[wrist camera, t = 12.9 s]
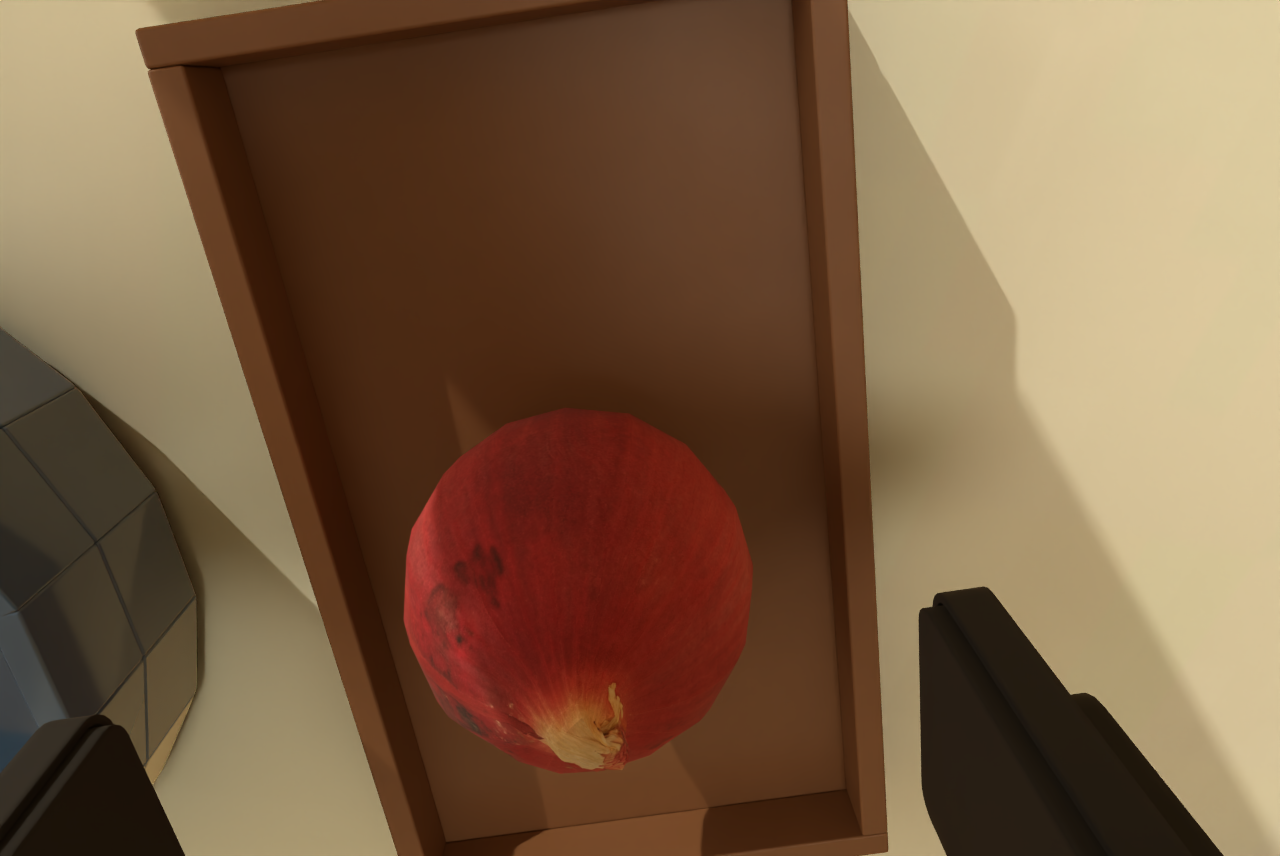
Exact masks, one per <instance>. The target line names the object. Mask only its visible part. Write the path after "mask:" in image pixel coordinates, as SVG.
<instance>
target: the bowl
mask: <svg viewBox="0 0 1280 856" xmlns="http://www.w3.org/2000/svg"><path fill="white" fill-rule="evenodd" d="M196 690H197V606H196V595H195V591H194V588H193V585H192V583H191V580H190V577H189V575H188V572H187V569H186V567H185V564H184V561H183V559H182V556H181V553H180V551H179V548H178V546H177V543H176V540H175V538H174V535H173V532H172V530H171V527H170V524H169V522H168V519H167V516H166V514H165V511H164V508H163V506H162V503H161V500H160V498H159V495H158V493H157V492H155V487H154V486H153V485H152V484H151V482H150V481H149V480H148V478H147V477H146V476H145V474H144V473H143V472H142V471H141V469H140V468H139V467H138V465H137V464H136V463H135V461H134V460H133V459H132V458H131V456H130V455H129V454H128V452H127V451H126V450H125V448H124V447H123V446H122V445H121V443H120V442H119V441H118V439H117V438H116V437H115V435H114V434H113V433H112V432H111V430H110V429H109V428H108V426H107V425H106V424H105V422H104V421H103V420H102V419H101V417H100V416H99V415H98V413H97V412H96V411H95V410H94V408H93V407H92V406H91V404H90V403H89V402H88V400H87V399H86V398H85V397H84V395H83V394H82V393H81V391H80V390H79V389H78V388H75V385H74V384H73V383H72V382H70V381H69V380H68V379H66V378H65V377H64V376H63V375H61V374H60V373H59V372H57V371H56V370H55V369H54V368H52V367H51V366H50V365H48V364H47V363H46V362H45V361H43V360H42V359H41V358H39V357H38V356H37V355H35V354H34V353H33V352H32V351H30V350H29V349H28V348H26V347H25V346H24V345H23V344H21V343H20V342H19V341H17V340H16V339H15V338H14V337H12V336H11V335H10V334H8V333H7V332H6V331H4V330H3V329H2V328H1V327H0V773H1V772H2V770H3V769H4V768H5V767H6V766H7V765H8V763H9V762H10V761H11V760H12V759H13V758H14V756H15V755H16V754H17V753H18V752H19V750H20V749H21V748H22V747H23V746H24V745H25V743H26V742H27V741H28V740H29V739H30V738H31V736H32V735H33V734H34V733H35V732H36V730H38V729H39V728H40V727H41V726H42V725H43V724H45V723H47V722H50V721H54V720H61V719H68V718H74V717H81V716H88V715H95V714H99V715H105V716H106V717H108V718H109V719H111V721H112V722H113V724H114V725H121V726H122V727H123V728H125V730H126V731H127V733H128V734H129V736H130V739H131V741H132V743H133V745H134V747H135V749H136V751H137V754H138V756H139V758H140V760H141V762H142V764H143V766H144V769H145V771H146V773H147V775H148V777H149V779H150V781H151V784H152V785H153V784H154V782H155V781H156V779H157V778H158V776H159V775H160V773H161V771H162V770H163V768H164V766H165V763H166V761H167V759H168V756H169V754H170V752H171V749H172V747H173V745H174V742H175V740H176V738H177V735H178V733H179V731H180V728H181V726H182V724H183V721H184V719H185V717H186V714H187V712H188V710H189V707H190V705H191V703H192V700H193V698H194V696H195V691H196Z"/></svg>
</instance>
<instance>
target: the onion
mask: <svg viewBox="0 0 1280 856" xmlns="http://www.w3.org/2000/svg"><path fill="white" fill-rule="evenodd" d="M752 577H753V563H752V560H751V556H750V553H749V550H748V546H747V543H746V540H745V536H744V533H743V530H742V526H741V523H740V520H739V516H738V513H737V510H736V507H735V505H734V504H733V502H732V501H731V499H730V498H729V496H728V495H727V493H726V491H725V490H724V489H723V488H722V486H721V485H720V484H719V483H718V482H717V480H716V479H715V478H714V477H713V476H712V475H711V473H710V472H709V471H708V470H707V469H706V467H705V466H704V465H703V464H702V463H701V461H700V460H699V459H698V458H697V457H696V455H695V454H694V453H693V452H692V451H691V450H690V448H689V447H688V446H687V445H686V444H685V443H683V442H681V441H679V440H677V439H675V438H674V437H672V436H670V435H668V434H666V433H664V432H663V431H661V430H659V429H657V428H655V427H653V426H651V425H650V424H648V423H646V422H644V421H642V420H640V419H639V418H637V417H635V416H633V415H631V414H629V413H618V412H607V411H596V410H585V409H574V408H562V409H558V410H555V411H551V412H547V413H543V414H540V415H536V416H532V417H529V418H525V419H521V420H518V421H514V422H510V423H507V424H505V425H504V426H502V427H501V428H500V429H498V430H497V431H495V432H494V433H493V434H491V435H490V436H488V437H487V438H486V439H484V440H483V441H481V442H480V443H479V444H477V445H476V446H474V447H473V448H472V449H470V450H469V451H468V452H466V453H465V454H463V455H462V456H461V457H459V458H458V459H457V460H456V462H455V463H454V464H453V465H452V466H451V467H450V468H449V469H448V470H447V471H446V472H445V473H444V474H443V476H442V478H441V479H440V481H439V483H438V484H437V486H436V488H435V490H434V491H433V493H432V495H431V497H430V498H429V500H428V502H427V504H426V505H425V507H424V509H423V511H422V512H421V514H420V516H419V517H418V519H417V521H416V523H415V524H414V526H413V528H412V530H411V535H410V540H409V545H408V550H407V555H406V577H405V599H404V624H405V627H406V631H407V635H408V639H409V643H410V645H411V647H412V650H413V652H414V654H415V656H416V658H417V660H418V662H419V664H420V666H421V668H422V671H423V673H424V675H425V677H426V679H427V681H428V683H429V685H430V687H431V690H432V692H433V694H434V696H435V698H436V700H437V702H438V703H439V705H440V706H441V707H442V709H443V710H444V711H445V713H446V714H447V715H448V717H449V718H451V719H452V720H454V721H455V722H457V723H458V724H459V725H461V726H462V727H464V728H465V729H467V730H468V731H470V732H472V733H473V734H475V735H477V736H478V737H480V738H482V739H483V740H485V741H487V742H488V743H490V744H492V745H493V746H495V747H497V748H498V749H500V750H502V751H503V752H505V753H507V754H508V755H509V756H511V757H512V758H514V759H515V760H517V761H518V762H522V763H525V764H529V765H532V766H536V767H539V768H542V769H546V770H549V771H553V772H556V773H559V774H564V773H577V772H591V771H596V772H598V771H604V770H607V769H608V770H623V768H624V766H625V764H626V763H628V762H631V761H634V760H637V759H640V758H643V757H646V756H650V755H651V754H653V753H654V752H655V751H657V750H658V749H659V748H661V747H662V746H663V745H665V744H666V743H668V742H669V741H671V740H672V739H674V738H675V737H677V736H678V735H680V734H681V733H683V732H684V731H686V730H687V729H689V728H690V727H692V726H693V725H695V724H696V723H698V722H699V721H700V720H701V719H702V718H703V717H704V716H705V714H706V713H707V712H708V711H709V710H710V708H711V706H712V705H713V703H714V701H715V699H716V698H717V696H718V694H719V693H720V691H721V689H722V687H723V686H724V684H725V682H726V680H727V679H728V677H729V675H730V674H731V672H732V670H733V668H734V667H735V665H736V663H737V661H738V659H739V657H740V655H741V653H742V650H743V648H744V646H745V644H746V636H747V627H748V619H749V611H750V602H751V594H752Z"/></svg>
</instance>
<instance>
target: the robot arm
mask: <svg viewBox="0 0 1280 856" xmlns="http://www.w3.org/2000/svg"><path fill="white" fill-rule="evenodd" d="M919 665H920V721H921V777H922V790H923V796H924V800H925V805H926V808H927V811H928V814H929V816H930V819H931V821H932V824H933V826H934V828H935V830H936V832H937V835H938V837H939V839H940V841H941V844H942V846H943V848H944V850H945V853H946V855H947V856H1223V854H1222V853H1221V852H1220V851H1219V849H1218V848H1217V847H1216V846H1215V844H1214V843H1213V842H1212V841H1211V839H1210V838H1209V837H1208V836H1207V834H1206V833H1205V832H1204V831H1203V829H1202V828H1201V827H1200V826H1199V824H1198V823H1197V822H1196V821H1195V819H1194V818H1193V817H1192V816H1191V814H1190V813H1189V812H1188V811H1187V809H1186V808H1185V807H1184V806H1183V804H1182V803H1181V802H1180V801H1179V799H1178V798H1177V797H1176V796H1175V794H1174V793H1173V792H1172V791H1171V789H1170V788H1169V787H1168V786H1167V784H1166V783H1165V782H1164V781H1163V779H1162V778H1161V777H1160V776H1159V774H1158V773H1157V772H1156V771H1155V769H1154V768H1153V767H1152V766H1151V764H1150V763H1149V762H1148V761H1147V759H1146V758H1145V757H1144V756H1143V754H1142V753H1141V752H1140V751H1139V749H1138V748H1137V747H1136V746H1135V744H1134V743H1133V742H1132V741H1131V739H1130V738H1129V737H1128V736H1127V734H1126V733H1125V732H1124V731H1123V729H1122V728H1121V727H1120V726H1119V724H1118V723H1117V722H1116V721H1115V719H1114V718H1113V717H1112V716H1111V714H1110V713H1109V712H1108V711H1107V709H1106V708H1105V707H1104V706H1103V705H1102V704H1101V703H1100V702H1099V701H1098V700H1097V699H1096V698H1095V697H1093V696H1091V695H1089V694H1087V693H1080V694H1073V695H1070V694H1069V692H1068V691H1067V690H1066V688H1065V687H1064V686H1063V684H1062V683H1061V682H1060V680H1059V679H1058V678H1057V677H1056V675H1055V674H1054V673H1053V671H1052V670H1051V669H1050V667H1049V666H1048V665H1047V663H1046V662H1045V661H1044V659H1043V658H1042V657H1041V656H1040V654H1039V653H1038V652H1037V650H1036V649H1035V648H1034V646H1033V645H1032V644H1031V642H1030V641H1029V640H1028V638H1027V637H1026V636H1025V634H1024V633H1023V632H1022V631H1021V629H1020V628H1019V627H1018V625H1017V624H1016V623H1015V621H1014V620H1013V619H1012V617H1011V616H1010V615H1009V613H1008V612H1007V611H1006V609H1005V608H1004V607H1003V606H1002V604H1001V603H1000V602H999V600H998V599H997V598H996V596H995V595H994V594H993V592H992V591H991V590H990V589H989V588H987V587H977V588H970V589H963V590H956V591H950V592H943V593H937V594H936V595H935V597H934V600H933V607H928V608H922V609H921V610H920V613H919ZM0 856H185V854H184V852H183V850H182V848H181V846H180V844H179V841H178V839H177V837H176V835H175V833H174V831H173V829H172V826H171V824H170V822H169V820H168V818H167V816H166V814H165V811H164V809H163V807H162V805H161V803H160V801H159V799H158V796H157V794H156V792H155V790H154V788H153V786H152V784H151V781H150V779H149V777H148V775H147V773H146V771H145V769H144V766H143V764H142V762H141V760H140V758H139V756H138V754H137V751H136V749H135V747H134V745H133V743H132V741H131V739H130V736H129V734H128V733H127V731H126V730H125V728H123V727H122V726H121V725H114V724H113V722H112V721H111V719H109V718H108V717H106V716H105V715H99V714H95V715H88V716H81V717H74V718H68V719H61V720H54V721H50V722H47V723H45V724H43V725H42V726H41V727H40V728H39V729H38V730H36V732H35V733H34V734H33V735H32V736H31V738H30V739H29V740H28V741H27V742H26V743H25V745H24V746H23V747H22V748H21V749H20V750H19V752H18V753H17V754H16V755H15V756H14V758H13V759H12V760H11V761H10V762H9V763H8V765H7V766H6V767H5V768H4V769H3V770H2V772H1V773H0Z"/></svg>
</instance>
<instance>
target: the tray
mask: <svg viewBox="0 0 1280 856" xmlns="http://www.w3.org/2000/svg"><path fill="white" fill-rule="evenodd" d="M136 36H137V40H138V43H139V46H140V49H141V52H142V55H143V58H144V62H145V65H146V66H147V68H148V69H151V70H149V71H148V75H149V78H150V81H151V84H152V87H153V91H154V94H155V97H156V100H157V103H158V106H159V109H160V113H161V116H162V119H163V122H164V125H165V128H166V131H167V134H168V138H169V141H170V144H171V147H172V150H173V153H174V156H175V159H176V163H177V166H178V169H179V172H180V175H181V178H182V181H183V184H184V188H185V191H186V194H187V197H188V200H189V203H190V206H191V209H192V213H193V216H194V219H195V222H196V225H197V228H198V231H199V235H200V238H201V241H202V244H203V247H204V250H205V253H206V256H207V260H208V263H209V266H210V269H211V272H212V275H213V278H214V281H215V285H216V288H217V291H218V294H219V297H220V300H221V303H222V306H223V310H224V313H225V316H226V319H227V322H228V325H229V328H230V331H231V335H232V338H233V341H234V344H235V347H236V350H237V353H238V357H239V360H240V363H241V366H242V369H243V372H244V375H245V378H246V382H247V385H248V388H249V391H250V394H251V397H252V400H253V403H254V407H255V410H256V413H257V416H258V419H259V422H260V425H261V428H262V432H263V435H264V438H265V441H266V444H267V447H268V450H269V453H270V457H271V460H272V463H273V466H274V469H275V472H276V475H277V478H278V482H279V485H280V488H281V491H282V494H283V497H284V500H285V504H286V507H287V510H288V513H289V516H290V519H291V522H292V525H293V529H294V532H295V535H296V538H297V541H298V544H299V547H300V550H301V554H302V557H303V560H304V563H305V566H306V569H307V572H308V575H309V579H310V582H311V585H312V588H313V591H314V594H315V597H316V600H317V604H318V607H319V610H320V613H321V616H322V619H323V622H324V626H325V629H326V632H327V635H328V638H329V641H330V644H331V647H332V651H333V654H334V657H335V660H336V663H337V666H338V669H339V672H340V676H341V679H342V682H343V685H344V688H345V691H346V694H347V697H348V701H349V704H350V707H351V710H352V713H353V716H354V719H355V722H356V726H357V729H358V732H359V735H360V738H361V741H362V744H363V748H364V751H365V754H366V757H367V760H368V763H369V766H370V769H371V773H372V776H373V779H374V782H375V785H376V788H377V791H378V794H379V798H380V801H381V804H382V807H383V810H384V813H385V816H386V819H387V823H388V826H389V829H390V832H391V835H392V838H393V841H394V844H395V848H396V851H397V854H398V856H861V855H868V854H876V853H884V852H888V833H887V813H886V792H885V771H884V750H883V730H882V709H881V688H880V667H879V647H878V626H877V605H876V585H875V564H874V543H873V522H872V502H871V481H870V460H869V439H868V419H867V398H866V377H865V356H864V336H863V315H862V294H861V274H860V253H859V232H858V211H857V191H856V170H855V149H854V128H853V108H852V87H851V66H850V45H849V25H848V4H847V0H321V1H315V2H308V3H302V4H295V5H289V6H282V7H275V8H269V9H262V10H256V11H249V12H243V13H236V14H230V15H223V16H217V17H210V18H204V19H197V20H191V21H184V22H178V23H171V24H165V25H158V26H152V27H145V28H139V29H137V30H136ZM562 408H574V409H585V410H596V411H607V412H618V413H629V414H631V415H633V416H635V417H637V418H639V419H640V420H642V421H644V422H646V423H648V424H650V425H651V426H653V427H655V428H657V429H659V430H661V431H663V432H664V433H666V434H668V435H670V436H672V437H674V438H675V439H677V440H679V441H681V442H683V443H685V444H686V445H687V446H688V447H689V448H690V450H691V451H692V452H693V453H694V454H695V455H696V457H697V458H698V459H699V460H700V461H701V463H702V464H703V465H704V466H705V467H706V469H707V470H708V471H709V472H710V473H711V475H712V476H713V477H714V478H715V479H716V480H717V482H718V483H719V484H720V485H721V486H722V488H723V489H724V490H725V491H726V493H727V495H728V496H729V498H730V499H731V501H732V502H733V504H734V505H735V507H736V510H737V513H738V516H739V520H740V523H741V526H742V530H743V533H744V536H745V540H746V543H747V546H748V550H749V553H750V556H751V560H752V563H753V577H752V594H751V602H750V611H749V619H748V627H747V636H746V644H745V646H744V648H743V650H742V653H741V655H740V657H739V659H738V661H737V663H736V665H735V667H734V668H733V670H732V672H731V674H730V675H729V677H728V679H727V680H726V682H725V684H724V686H723V687H722V689H721V691H720V693H719V694H718V696H717V698H716V699H715V701H714V703H713V705H712V706H711V708H710V710H709V711H708V712H707V713H706V714H705V716H704V717H703V718H702V719H701V720H700V721H699V722H698V723H696V724H695V725H693V726H692V727H690V728H689V729H687V730H686V731H684V732H683V733H681V734H680V735H678V736H677V737H675V738H674V739H672V740H671V741H669V742H668V743H666V744H665V745H663V746H662V747H661V748H659V749H658V750H657V751H655V752H654V753H653V754H651V755H650V756H646V757H643V758H640V759H637V760H634V761H631V762H628V763H626V764H625V766H624V768H623V770H608V769H607V770H604V771H598V772H596V771H591V772H577V773H564V774H559V773H556V772H553V771H549V770H546V769H542V768H539V767H536V766H532V765H529V764H525V763H522V762H518V761H517V760H515V759H514V758H512V757H511V756H509V755H508V754H507V753H505V752H503V751H502V750H500V749H498V748H497V747H495V746H493V745H492V744H490V743H488V742H487V741H485V740H483V739H482V738H480V737H478V736H477V735H475V734H473V733H472V732H470V731H468V730H467V729H465V728H464V727H462V726H461V725H459V724H458V723H457V722H455V721H454V720H452V719H451V718H449V717H448V715H447V714H446V713H445V711H444V710H443V709H442V707H441V706H440V705H439V703H438V702H437V700H436V698H435V696H434V694H433V692H432V690H431V687H430V685H429V683H428V681H427V679H426V677H425V675H424V673H423V671H422V668H421V666H420V664H419V662H418V660H417V658H416V656H415V654H414V652H413V650H412V647H411V645H410V643H409V639H408V635H407V631H406V627H405V624H404V599H405V577H406V555H407V550H408V545H409V540H410V535H411V530H412V528H413V526H414V524H415V523H416V521H417V519H418V517H419V516H420V514H421V512H422V511H423V509H424V507H425V505H426V504H427V502H428V500H429V498H430V497H431V495H432V493H433V491H434V490H435V488H436V486H437V484H438V483H439V481H440V479H441V478H442V476H443V474H444V473H445V472H446V471H447V470H448V469H449V468H450V467H451V466H452V465H453V464H454V463H455V462H456V460H457V459H458V458H459V457H461V456H462V455H463V454H465V453H466V452H468V451H469V450H470V449H472V448H473V447H474V446H476V445H477V444H479V443H480V442H481V441H483V440H484V439H486V438H487V437H488V436H490V435H491V434H493V433H494V432H495V431H497V430H498V429H500V428H501V427H502V426H504V425H505V424H507V423H510V422H514V421H518V420H521V419H525V418H529V417H532V416H536V415H540V414H543V413H547V412H551V411H555V410H558V409H562Z"/></svg>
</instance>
